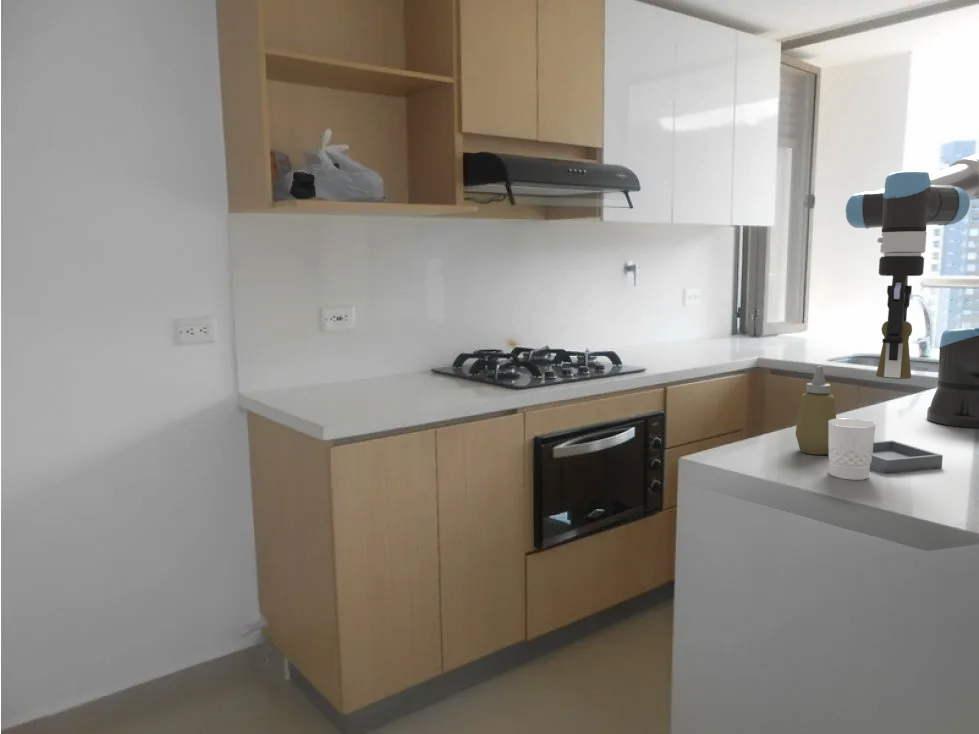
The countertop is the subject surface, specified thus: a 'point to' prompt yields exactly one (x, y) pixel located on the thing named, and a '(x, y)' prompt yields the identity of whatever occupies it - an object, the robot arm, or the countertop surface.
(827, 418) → the squeeze bottle
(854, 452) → the white cup
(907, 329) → the cork
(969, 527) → the countertop surface
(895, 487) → the countertop surface
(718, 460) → the countertop surface
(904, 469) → the tray
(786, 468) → the countertop surface
